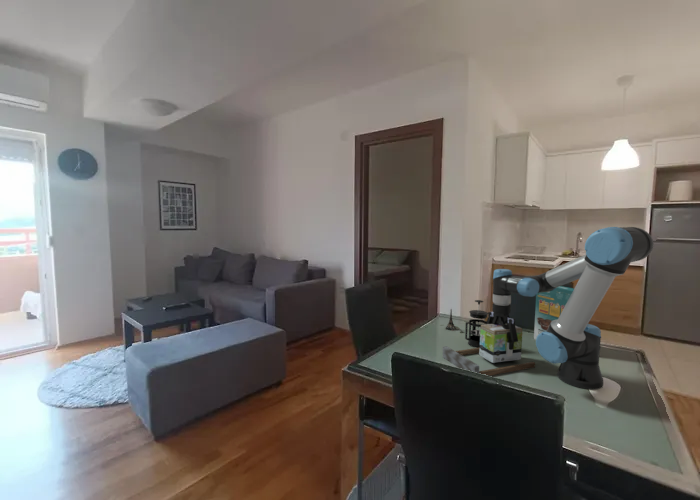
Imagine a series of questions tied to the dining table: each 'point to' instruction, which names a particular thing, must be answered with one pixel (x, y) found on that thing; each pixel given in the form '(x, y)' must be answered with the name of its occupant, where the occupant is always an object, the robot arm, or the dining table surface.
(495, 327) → the tea box
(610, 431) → the dining table surface
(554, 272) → the robot arm
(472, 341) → the french press
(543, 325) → the cake mix box
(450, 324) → the eiffel tower figurine
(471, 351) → the guide track
